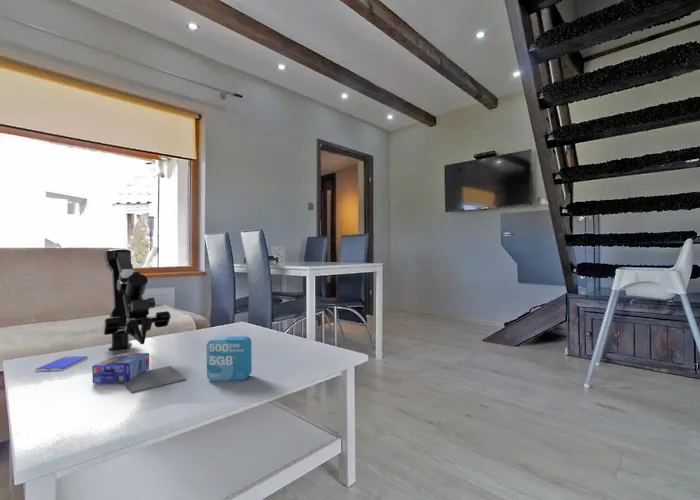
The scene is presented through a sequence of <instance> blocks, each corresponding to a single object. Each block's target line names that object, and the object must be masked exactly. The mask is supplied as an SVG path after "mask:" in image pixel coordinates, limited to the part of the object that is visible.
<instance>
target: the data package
mask: <svg viewBox="0 0 700 500" xmlns="http://www.w3.org/2000/svg"><path fill="white" fill-rule="evenodd" d="M252 360H253V359H252V339H251V337H249V336H246V335H245V336H242V335H241V336H230V335H229V336H215V337H213V338H211V339H210V340H208V341H207V343H206V379H207V380H209V381H211V382H219V381H220V382H221V381H222V382H230V381H232V382H234V381H235V382H239V381H240V382H241V381H245V380H246V379H248V377H249V376H250V375H251V374H252V371H253V368H252V363H253V362H252Z"/></svg>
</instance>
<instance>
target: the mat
mask: <svg viewBox="0 0 700 500" xmlns="http://www.w3.org/2000/svg"><path fill="white" fill-rule="evenodd" d="M183 381H187V378H186V377H185V376H184V375H182V374H181V373H180V372H178V371H177V370H176V369H175V368H173V367H172V366H171V365H167V366H163V367H157V368H153V369H148V370H146V371H144V372H143V373H141V374H139V375H137V376H136V377H134V378H132V379H131V380H129V381H127V382H126V383H123V384H124V386H126V388H127V390H129V392H130V393H131V394H135V393H138V392H143V391H146V390H151V389H155V388H160V387H164V386H167V385H172V384H175V383H179V382H183Z"/></svg>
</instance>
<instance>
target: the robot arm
mask: <svg viewBox="0 0 700 500" xmlns="http://www.w3.org/2000/svg"><path fill="white" fill-rule="evenodd" d="M104 262H106V267H107V268H108V270H109V271H110V272H111V278H112V279H111V281H112V295H113V296H112V299H113V301H112V302H113V308H112V310H111V312H110V314H109V317H106V318H105V319H104V324H103V327H102V328H103V335H105V336H108V335H111V346H110V347H108V350H109V351H110V350H111V351H113V350H123V349H126V350H127V349H129V348H130V347H131V346H132V345H133V344H132V343H131V342H130V335H131V337H133V338H134V339H135V340H136V341H137V342H138V343H139V344H140V345H145V341H146V336H147V332H149V331H150V330H151V328H152V326H153V324H154V327H156V328H163V327H167V326H169V322H170V320H171V312H169V311H168V310H166V311H157V312H156V314H155V315H154V316H153V315H152V316H149V314H150V312H149V311H150V309H154V308H155V306H156V299H155V297H148V298H145V299H144V297H143V295H145V293H146V290H147V289H146V287H147V286H148V281H149V279H148V277H147V276H145V275H144V274H141V273H140V271H135V270H134V267H133V263H132V251H131V250H130V249H129V248H115V249H108V250H106V251H105V252H104ZM139 326H141V327H139Z"/></svg>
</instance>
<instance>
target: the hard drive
mask: <svg viewBox="0 0 700 500" xmlns="http://www.w3.org/2000/svg"><path fill="white" fill-rule="evenodd" d="M86 360H89V359H88V356H87V355H79V356H78V355H76V356H75V355H74V356H63V357H60V358H58V359H56V360H54V361H51V362H49V363H46V364H44V365H41V366H39V367H37V368H35V370H34V372H59V371H60V372H61V371H65V370H67V369H68V368H71V367H73V366H75V365H78V364H80V363H81V362H84V361H86Z"/></svg>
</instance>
